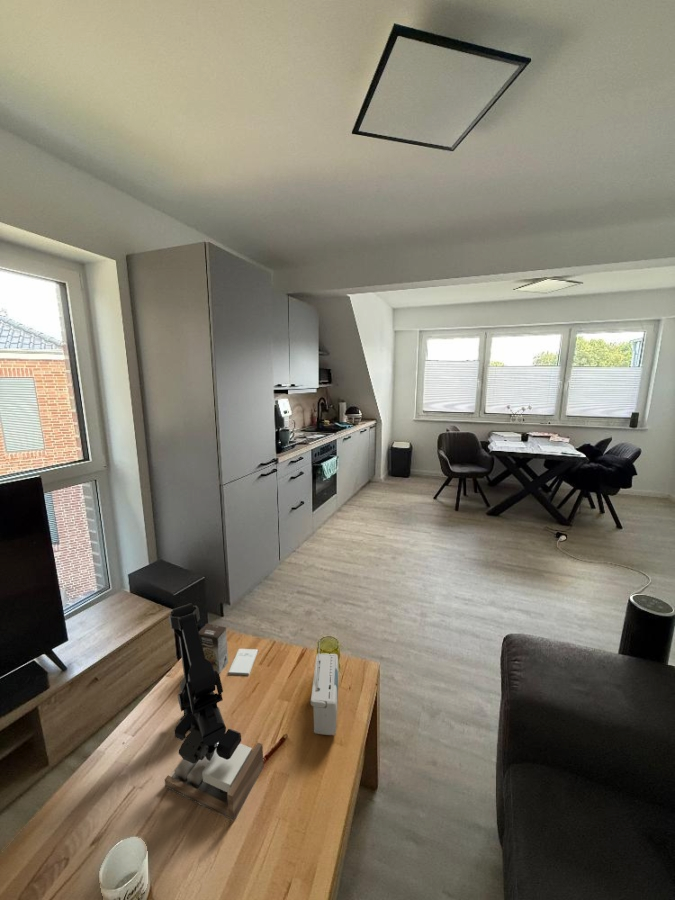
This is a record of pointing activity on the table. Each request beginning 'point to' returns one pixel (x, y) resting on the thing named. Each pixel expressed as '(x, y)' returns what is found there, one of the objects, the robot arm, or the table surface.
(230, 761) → the slab
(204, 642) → the coffee box
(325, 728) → the stereo radio cassette player
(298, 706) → the table surface
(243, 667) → the external hard drive
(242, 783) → the track
